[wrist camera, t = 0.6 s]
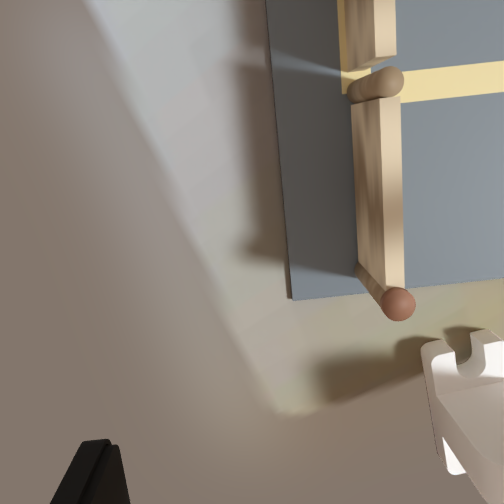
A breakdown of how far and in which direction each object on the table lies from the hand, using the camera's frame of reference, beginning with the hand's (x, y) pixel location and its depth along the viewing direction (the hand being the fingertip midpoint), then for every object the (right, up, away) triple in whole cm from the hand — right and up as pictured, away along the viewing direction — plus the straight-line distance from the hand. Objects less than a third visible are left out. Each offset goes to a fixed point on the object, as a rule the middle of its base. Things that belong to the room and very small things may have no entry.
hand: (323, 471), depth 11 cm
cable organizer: (+14, -6, +24) cm, 28 cm away
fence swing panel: (+5, +9, +19) cm, 21 cm away
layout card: (+9, +15, +18) cm, 25 cm away
